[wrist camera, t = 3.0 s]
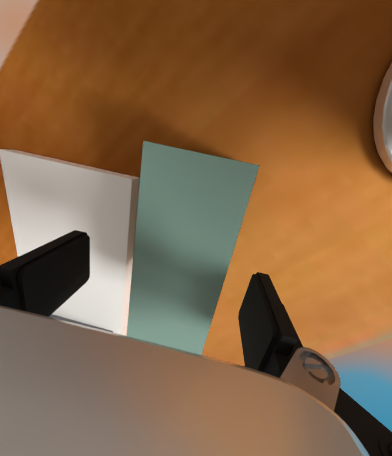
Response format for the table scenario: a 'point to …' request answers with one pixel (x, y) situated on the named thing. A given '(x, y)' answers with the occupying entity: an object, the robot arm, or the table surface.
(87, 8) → the table surface
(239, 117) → the table surface
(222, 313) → the table surface
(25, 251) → the shelf board
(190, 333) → the book block
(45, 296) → the robot arm
